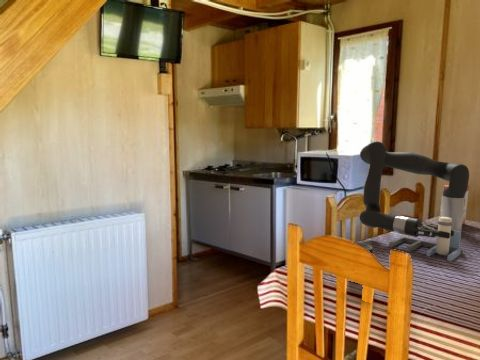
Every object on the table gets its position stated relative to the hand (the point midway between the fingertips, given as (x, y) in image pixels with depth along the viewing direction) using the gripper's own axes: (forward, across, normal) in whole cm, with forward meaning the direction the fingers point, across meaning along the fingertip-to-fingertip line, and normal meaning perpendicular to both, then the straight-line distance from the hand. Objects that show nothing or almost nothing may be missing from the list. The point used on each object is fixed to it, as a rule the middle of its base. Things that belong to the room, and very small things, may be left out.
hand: (451, 234), depth 149 cm
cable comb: (-10, +2, +9) cm, 14 cm away
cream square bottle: (-3, 0, +8) cm, 8 cm away
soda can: (-13, -46, +10) cm, 49 cm away
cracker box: (-17, +58, +10) cm, 61 cm away
